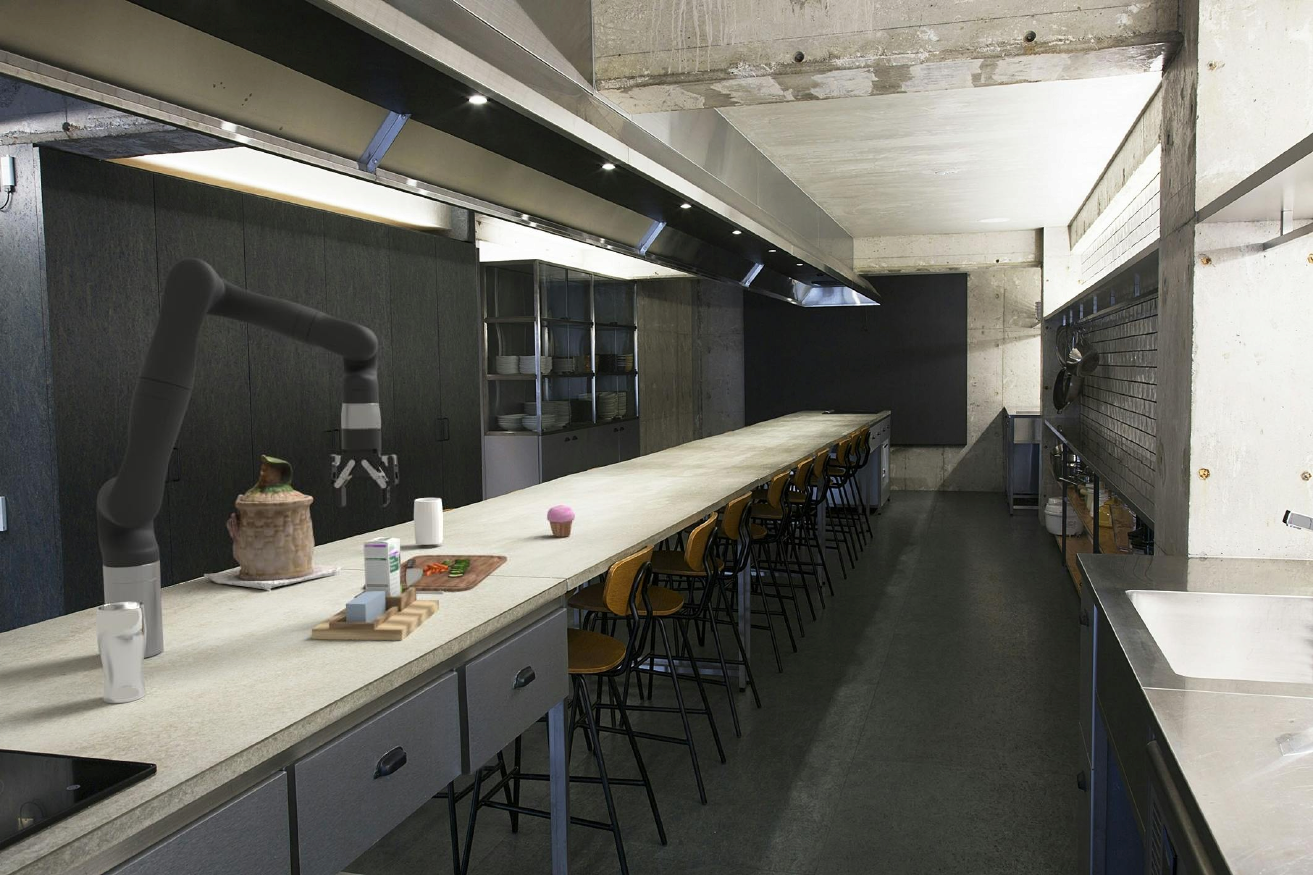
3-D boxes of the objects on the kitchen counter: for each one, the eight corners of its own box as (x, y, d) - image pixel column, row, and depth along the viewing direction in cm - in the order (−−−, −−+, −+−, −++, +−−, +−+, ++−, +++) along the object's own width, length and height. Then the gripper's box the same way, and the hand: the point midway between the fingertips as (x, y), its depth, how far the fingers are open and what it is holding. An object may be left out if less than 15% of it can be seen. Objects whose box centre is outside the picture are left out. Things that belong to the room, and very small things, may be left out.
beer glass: (157, 689, 156) (153, 600, 155) (135, 704, 149) (131, 610, 148) (114, 690, 156) (110, 600, 155) (90, 705, 149) (86, 611, 148)
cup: (449, 545, 286) (448, 498, 285) (429, 549, 279) (427, 502, 278) (429, 542, 290) (428, 496, 289) (408, 547, 283) (407, 500, 282)
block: (367, 612, 198) (366, 591, 198) (385, 612, 198) (385, 591, 197) (346, 626, 187) (345, 603, 187) (366, 626, 187) (365, 604, 186)
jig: (401, 640, 184) (401, 614, 184) (312, 639, 185) (311, 613, 185) (439, 609, 208) (438, 586, 208) (359, 608, 209) (358, 586, 209)
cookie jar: (346, 573, 247) (342, 451, 245) (266, 593, 226) (261, 459, 223) (281, 565, 259) (277, 448, 257) (200, 582, 237) (194, 456, 235)
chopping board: (465, 596, 222) (465, 583, 222) (355, 595, 225) (355, 582, 224) (511, 558, 267) (511, 547, 267) (419, 557, 269) (419, 547, 269)
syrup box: (390, 609, 200) (389, 541, 199) (365, 608, 201) (363, 540, 200) (402, 602, 206) (401, 536, 205) (377, 601, 207) (375, 536, 206)
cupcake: (579, 537, 298) (579, 505, 297) (554, 539, 294) (553, 507, 293) (567, 533, 306) (567, 502, 305) (542, 535, 301) (542, 504, 301)
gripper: (318, 427, 186) (320, 508, 187) (389, 427, 185) (391, 509, 186) (334, 425, 194) (336, 503, 195) (402, 425, 193) (404, 504, 194)
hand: (363, 506), depth 190 cm, fingers open, 8 cm apart
